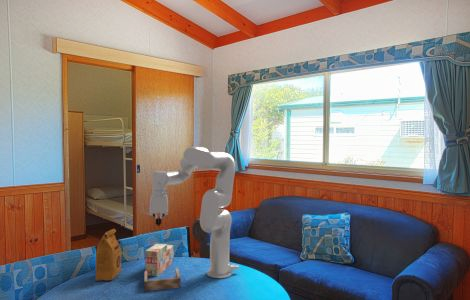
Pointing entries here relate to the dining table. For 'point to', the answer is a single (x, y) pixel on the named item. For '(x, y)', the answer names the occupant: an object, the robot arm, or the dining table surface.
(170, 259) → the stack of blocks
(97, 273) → the coffee package
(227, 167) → the robot arm
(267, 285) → the dining table surface
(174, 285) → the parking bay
